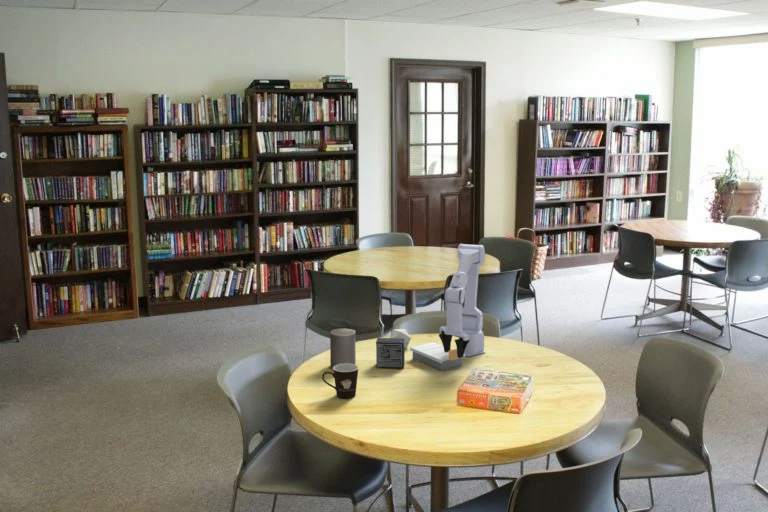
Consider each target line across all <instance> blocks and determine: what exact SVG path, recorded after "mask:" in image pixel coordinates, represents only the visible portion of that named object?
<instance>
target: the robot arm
mask: <svg viewBox="0 0 768 512" xmlns="http://www.w3.org/2000/svg"><path fill="white" fill-rule="evenodd" d="M456 256H457V258H458V261H459V263H458V268H457V271H456V272H455V273H454V274H453V276H452V279H451V281H450V284H449V286H448V288H446V289H445V292H444V302H445V308H446V326H445V325H442V326H439V332H440V333H439V334H438V337H439V338H440V341H441V343H442V344H441V345H442V346H443V347H444V352H445V353H446V352H449V350H450V349H452V347H451V346H452V344H451V343H452V339H453V337H455V339H454V343H455V346H456V349H457V356H458V358H461V357H462V358H463V355H464V354H465V357H471V356H476V355H481V354H485V353H486V351H485V334H484V331H482V329H483V326H484V318H483V312H482V311H481V310H480V309H478V307H477V299H478V287H479V285H478V284H479V272H480V267H481V266H484V264H485V258H486V257H485V256H486V251H485V246H484V245H483V244H467V243H465V244H464V243H459V245H458V247H457V254H456ZM463 304H464V306H463ZM456 338H457V339H456Z"/></svg>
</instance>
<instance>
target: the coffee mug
mask: <svg viewBox="0 0 768 512" xmlns="http://www.w3.org/2000/svg"><path fill="white" fill-rule="evenodd" d="M326 374H330V375H331V376H332V378H333V380H334V385H335V386H334V385H333V384H331V383H329V382H327V381H326V379H325V378H324V377H325V375H326ZM358 376H359V366H358V365H357V364H356V365H354V364H338V365H335V366H334V367H333V369H332V372H331V371H325V372H323V374H322V377H321V379H322V381H323V382H324V383H325V384H326V385H328V386H329V387H332V388H333V389H334V390H335V392H336V397H337V398H338V399H341V400H350V399H351V400H352V399H354V398H355V397H356V394H357V384H358Z"/></svg>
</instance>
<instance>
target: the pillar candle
mask: <svg viewBox="0 0 768 512" xmlns="http://www.w3.org/2000/svg"><path fill="white" fill-rule="evenodd" d="M329 336H330V337H329V340H330V341H329V343H330V347H329V348H330V349H329V350H330V360H329V361H330V365H329V366H330V368H331V369H332V370H333V367H334V366H335V365H338V364H354V365H357V364H356V358H357V357H356V352H357V351H356V330H354V329H351V328H345V327H344V328H336V329H335V328H334V329H332V330H331V331H330V333H329Z"/></svg>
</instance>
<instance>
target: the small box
mask: <svg viewBox="0 0 768 512" xmlns="http://www.w3.org/2000/svg"><path fill="white" fill-rule="evenodd" d="M375 344H376V345H375V346H376V347H375V348H376V349H375V350H376V352H375V353H376V355H375V358H376V361H375V362H376V367H375V368H376V369H390V370H391V369H392V370H393V369H395V370H403V369H404V368H405V364H406V362H405V351H406V349H404V338H390V337H377V338H376V341H375Z"/></svg>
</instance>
